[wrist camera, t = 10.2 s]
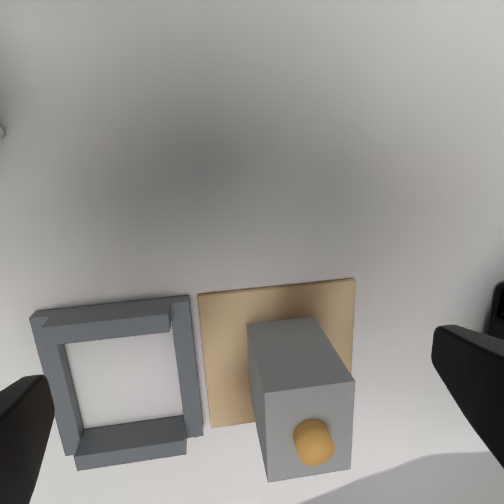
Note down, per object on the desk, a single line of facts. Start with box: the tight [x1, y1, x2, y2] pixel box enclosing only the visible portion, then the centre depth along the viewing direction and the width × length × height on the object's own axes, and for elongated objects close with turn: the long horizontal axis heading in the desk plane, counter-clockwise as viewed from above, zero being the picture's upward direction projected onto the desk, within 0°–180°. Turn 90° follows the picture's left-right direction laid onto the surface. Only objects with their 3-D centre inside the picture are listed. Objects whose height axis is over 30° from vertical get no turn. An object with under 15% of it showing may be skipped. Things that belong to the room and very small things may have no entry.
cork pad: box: [198, 279, 355, 428], centre depth 23 cm, size 9×9×1 cm
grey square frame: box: [29, 295, 203, 471], centre depth 21 cm, size 8×9×2 cm
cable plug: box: [246, 316, 355, 482], centre depth 19 cm, size 4×5×7 cm
